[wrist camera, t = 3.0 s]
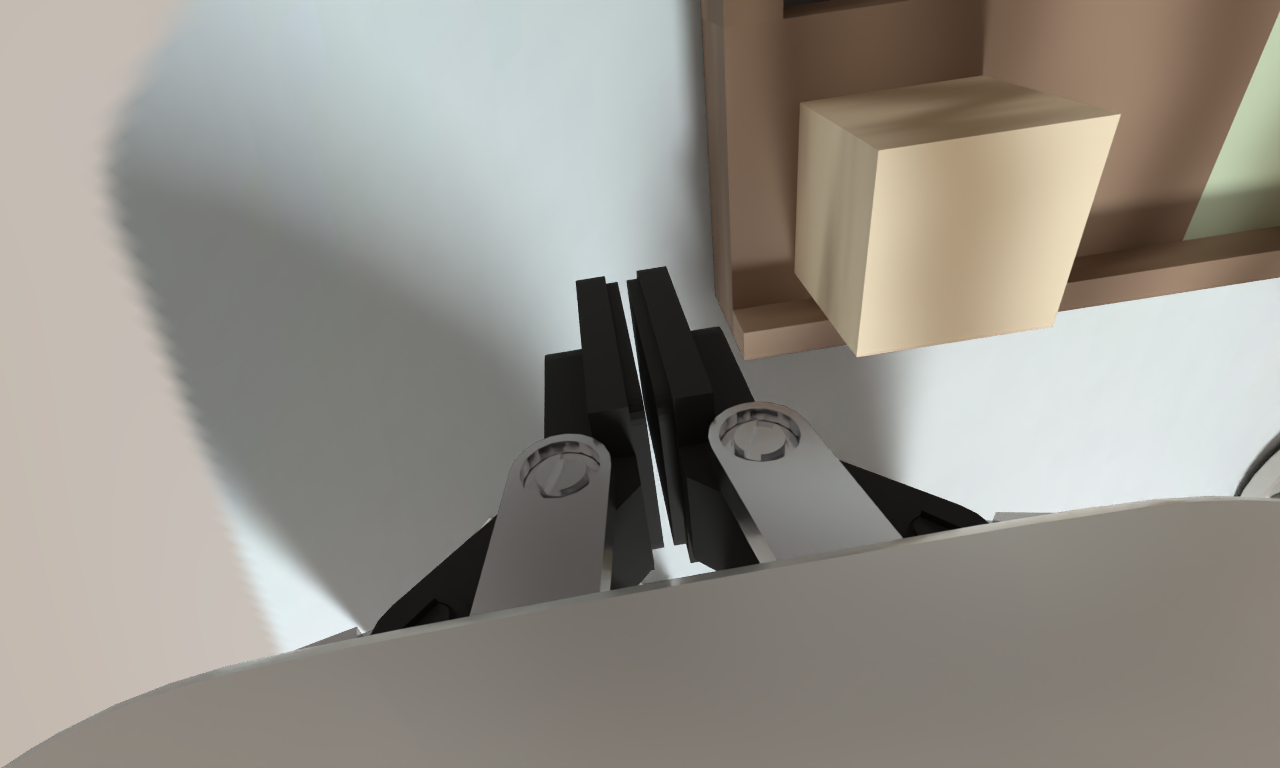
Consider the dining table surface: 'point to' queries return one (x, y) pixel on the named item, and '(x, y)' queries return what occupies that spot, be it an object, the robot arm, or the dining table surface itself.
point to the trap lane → (1026, 56)
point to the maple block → (944, 209)
